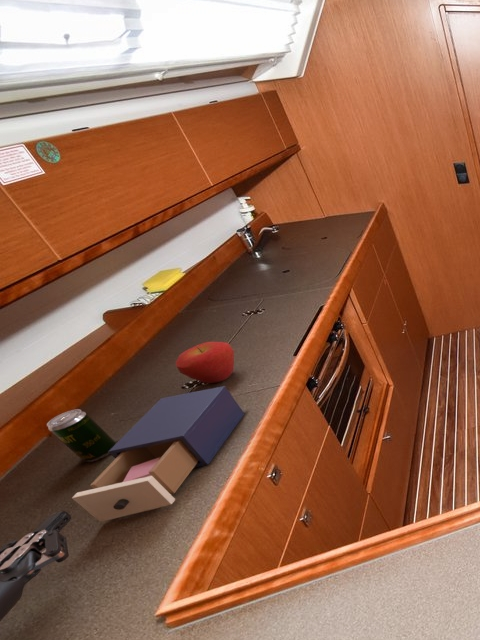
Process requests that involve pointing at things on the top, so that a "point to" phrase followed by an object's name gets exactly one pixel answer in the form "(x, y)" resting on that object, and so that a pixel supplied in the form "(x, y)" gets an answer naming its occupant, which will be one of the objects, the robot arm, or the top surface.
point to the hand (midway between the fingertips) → (62, 514)
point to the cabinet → (186, 423)
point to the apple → (207, 362)
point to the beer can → (81, 435)
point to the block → (140, 470)
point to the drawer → (138, 481)
